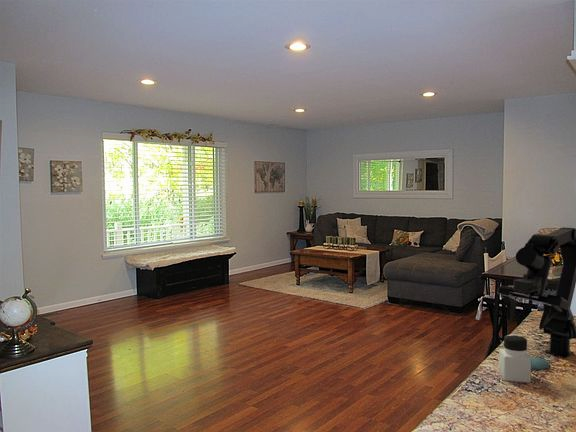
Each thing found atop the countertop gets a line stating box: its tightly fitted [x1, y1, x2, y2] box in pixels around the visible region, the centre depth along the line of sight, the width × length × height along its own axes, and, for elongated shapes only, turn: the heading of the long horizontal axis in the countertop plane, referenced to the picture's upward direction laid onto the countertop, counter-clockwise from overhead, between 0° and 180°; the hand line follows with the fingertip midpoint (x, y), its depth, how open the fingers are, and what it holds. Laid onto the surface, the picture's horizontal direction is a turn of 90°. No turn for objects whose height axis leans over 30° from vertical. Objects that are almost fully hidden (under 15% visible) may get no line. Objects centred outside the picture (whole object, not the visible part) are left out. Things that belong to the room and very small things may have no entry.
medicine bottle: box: [498, 334, 532, 384], centre depth 140 cm, size 7×7×12 cm
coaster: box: [529, 355, 550, 371], centre depth 151 cm, size 10×10×1 cm
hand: (524, 325), depth 144 cm, fingers open, 9 cm apart
